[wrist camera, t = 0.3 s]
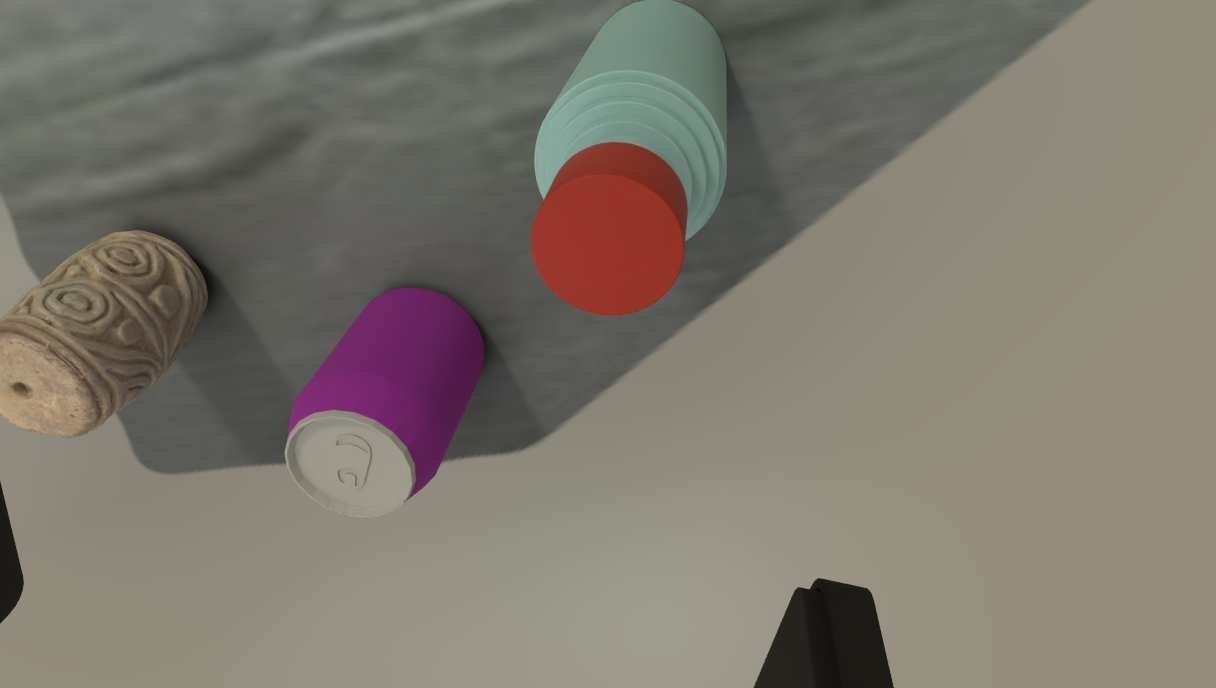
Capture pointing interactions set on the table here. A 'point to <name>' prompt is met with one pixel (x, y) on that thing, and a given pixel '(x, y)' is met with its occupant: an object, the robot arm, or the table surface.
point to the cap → (611, 229)
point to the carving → (97, 332)
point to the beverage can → (385, 403)
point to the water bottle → (648, 100)
